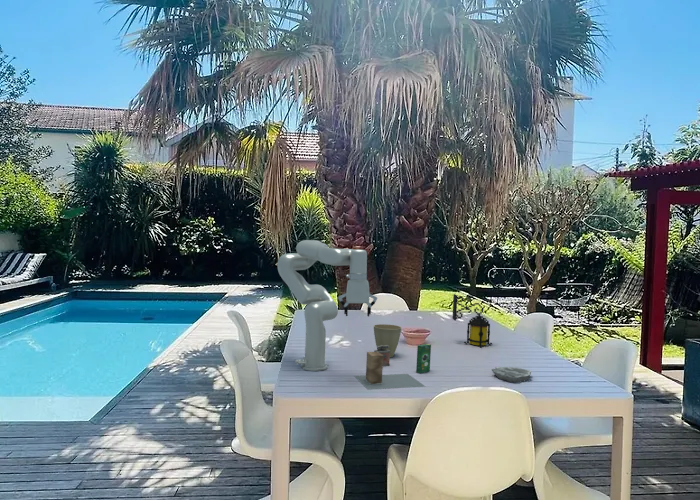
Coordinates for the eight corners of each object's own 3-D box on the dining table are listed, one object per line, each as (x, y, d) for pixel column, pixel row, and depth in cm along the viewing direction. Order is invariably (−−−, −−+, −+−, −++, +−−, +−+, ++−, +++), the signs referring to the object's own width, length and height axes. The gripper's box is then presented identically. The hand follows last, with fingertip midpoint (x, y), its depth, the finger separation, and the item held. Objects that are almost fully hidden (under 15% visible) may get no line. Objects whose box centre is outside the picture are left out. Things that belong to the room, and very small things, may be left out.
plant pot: (398, 360, 266) (400, 330, 265) (370, 358, 269) (371, 327, 268) (401, 354, 280) (402, 325, 280) (374, 351, 283) (375, 323, 283)
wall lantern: (495, 348, 304) (497, 298, 303) (454, 347, 304) (457, 296, 303) (488, 342, 320) (490, 294, 319) (449, 341, 321) (452, 293, 320)
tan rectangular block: (370, 384, 219) (371, 355, 219) (365, 379, 226) (366, 352, 225) (381, 383, 220) (383, 355, 220) (376, 379, 227) (377, 351, 227)
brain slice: (501, 370, 255) (501, 364, 255) (536, 377, 244) (536, 371, 244) (484, 378, 240) (484, 371, 240) (520, 386, 229) (520, 379, 229)
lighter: (375, 366, 252) (375, 346, 252) (372, 364, 255) (373, 344, 255) (390, 366, 254) (391, 345, 254) (388, 364, 258) (389, 344, 257)
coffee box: (425, 369, 250) (426, 342, 249) (430, 371, 248) (431, 343, 247) (415, 372, 244) (416, 345, 243) (420, 373, 242) (421, 346, 242)
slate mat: (367, 391, 212) (367, 389, 212) (353, 377, 231) (353, 376, 231) (425, 388, 219) (425, 386, 219) (407, 375, 238) (407, 373, 238)
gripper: (338, 277, 224) (337, 316, 224) (378, 278, 224) (377, 317, 225) (338, 276, 232) (338, 314, 232) (377, 277, 232) (376, 315, 232)
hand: (357, 315), depth 228 cm, fingers open, 9 cm apart
